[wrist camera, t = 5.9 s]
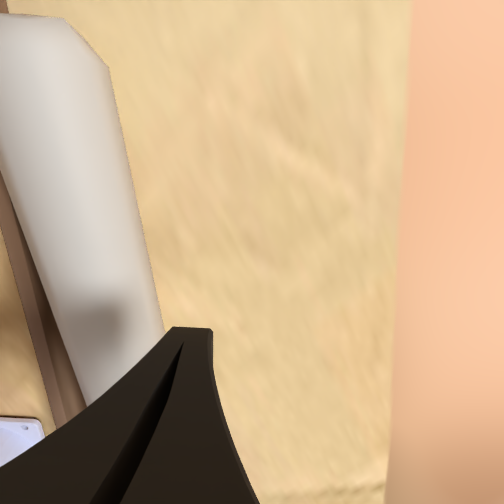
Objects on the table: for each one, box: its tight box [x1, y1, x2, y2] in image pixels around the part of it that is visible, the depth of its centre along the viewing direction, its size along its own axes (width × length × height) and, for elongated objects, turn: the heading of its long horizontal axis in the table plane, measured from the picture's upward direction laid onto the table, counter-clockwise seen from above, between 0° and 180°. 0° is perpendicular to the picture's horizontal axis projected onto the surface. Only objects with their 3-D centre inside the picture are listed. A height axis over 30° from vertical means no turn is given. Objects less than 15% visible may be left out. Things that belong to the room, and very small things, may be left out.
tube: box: [0, 13, 165, 407], centre depth 16 cm, size 5×5×25 cm
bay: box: [0, 0, 87, 429], centre depth 16 cm, size 5×33×2 cm, turn 177°
